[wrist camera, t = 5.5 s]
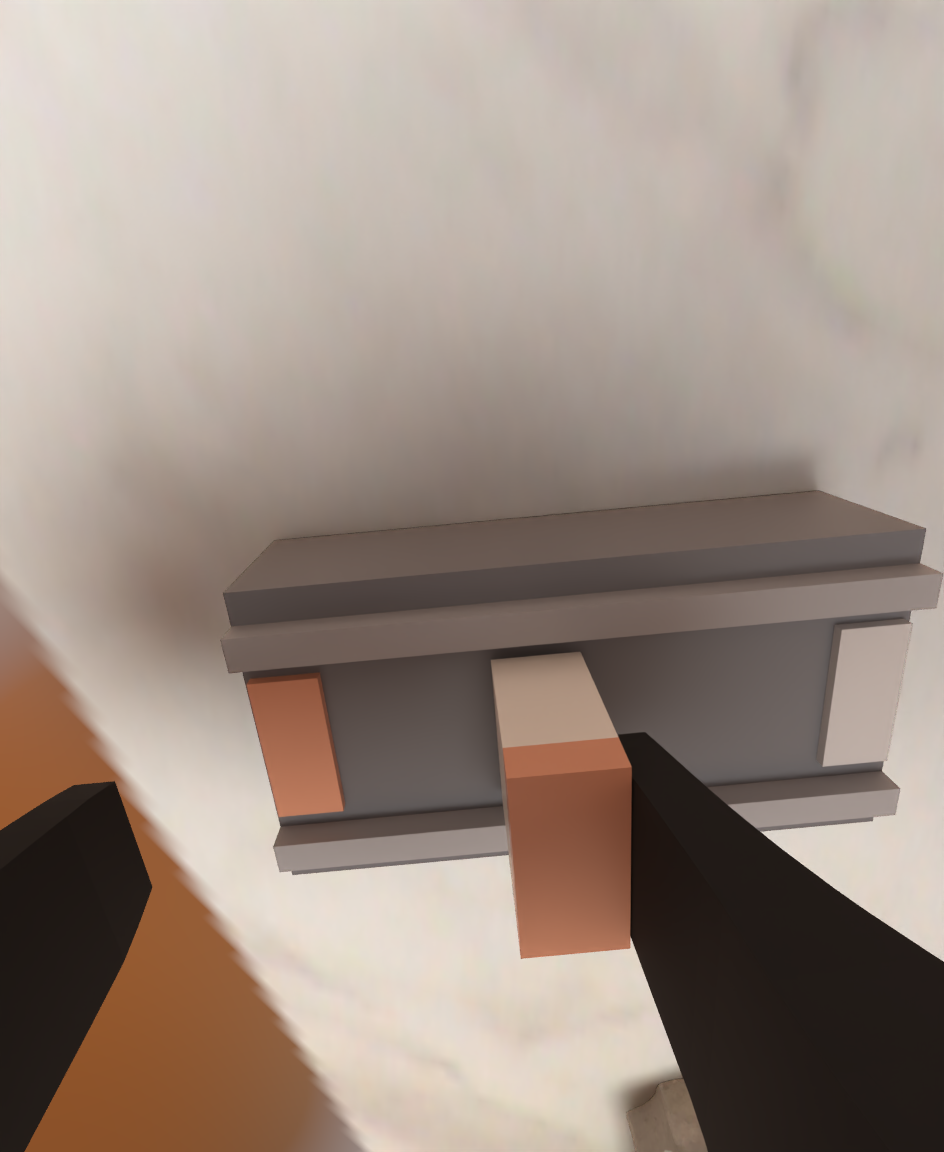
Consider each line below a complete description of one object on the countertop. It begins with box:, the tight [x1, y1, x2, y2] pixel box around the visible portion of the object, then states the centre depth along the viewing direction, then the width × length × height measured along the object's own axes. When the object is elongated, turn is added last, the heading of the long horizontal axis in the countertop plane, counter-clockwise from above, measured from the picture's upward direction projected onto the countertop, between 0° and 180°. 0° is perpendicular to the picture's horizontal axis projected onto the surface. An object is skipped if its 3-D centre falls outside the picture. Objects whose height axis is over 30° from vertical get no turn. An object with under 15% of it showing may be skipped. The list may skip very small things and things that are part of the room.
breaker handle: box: [491, 652, 632, 959], centre depth 9 cm, size 2×3×3 cm, turn 5°
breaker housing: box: [221, 491, 943, 875], centre depth 12 cm, size 12×6×4 cm, turn 95°
